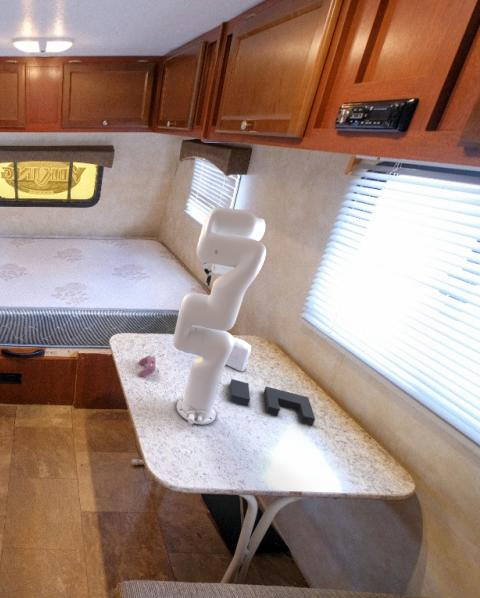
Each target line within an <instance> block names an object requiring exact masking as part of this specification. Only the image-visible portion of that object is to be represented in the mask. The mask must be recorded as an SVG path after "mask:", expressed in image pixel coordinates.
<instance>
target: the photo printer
mask: <svg viewBox="0 0 480 598" xmlns="http://www.w3.org/2000/svg"><path fill="white" fill-rule="evenodd" d="M232 337H233V336H232ZM233 339H234V346H233V349H232V352H231V354H230V356H229V358H228V360H227V362H226V364H225V366H228V367H230V368H232V369H235V370H237V371H239V372H244V371H245V370H246V366H247V363H248V361H249V358H250V354H251V351H252V345H250V343H248V342H246V341H245V340H243V339H240V338H237V337H233Z"/></svg>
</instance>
